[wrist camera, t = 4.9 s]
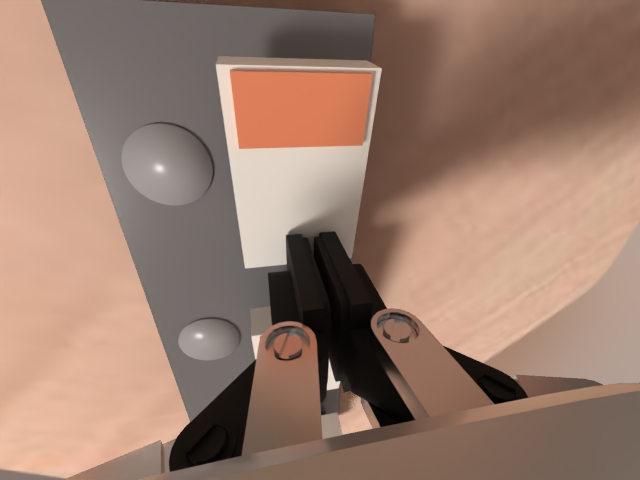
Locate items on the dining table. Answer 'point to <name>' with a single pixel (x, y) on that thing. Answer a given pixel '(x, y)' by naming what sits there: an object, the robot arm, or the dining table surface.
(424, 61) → the dining table surface
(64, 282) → the dining table surface
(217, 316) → the strip
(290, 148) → the rocker
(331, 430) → the block
